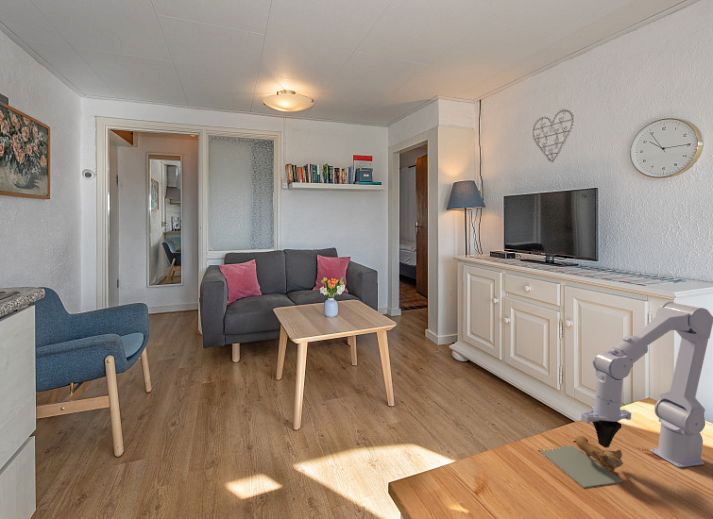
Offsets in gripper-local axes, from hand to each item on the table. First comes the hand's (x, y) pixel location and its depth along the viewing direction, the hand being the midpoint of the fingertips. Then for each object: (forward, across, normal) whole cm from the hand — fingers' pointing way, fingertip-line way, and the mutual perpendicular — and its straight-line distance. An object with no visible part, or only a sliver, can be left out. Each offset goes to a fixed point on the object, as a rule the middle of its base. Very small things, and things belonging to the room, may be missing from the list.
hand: (603, 445), depth 100 cm
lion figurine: (+3, 0, 0) cm, 3 cm away
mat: (+5, +8, 0) cm, 9 cm away
